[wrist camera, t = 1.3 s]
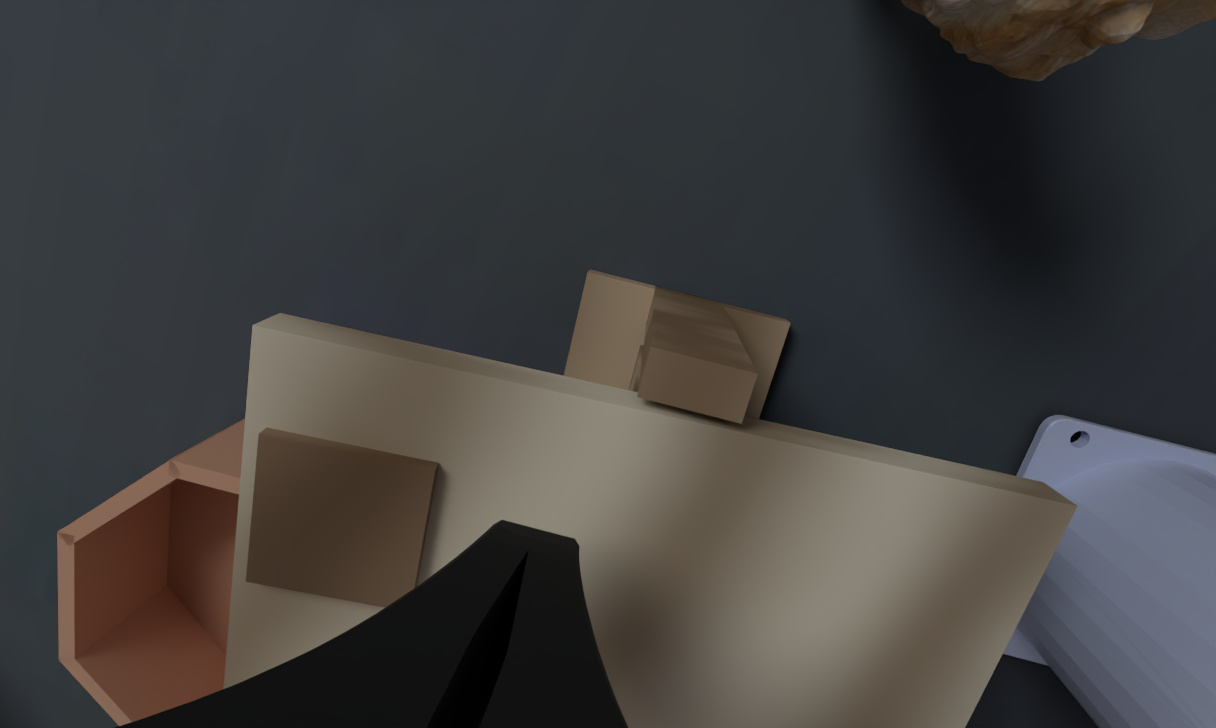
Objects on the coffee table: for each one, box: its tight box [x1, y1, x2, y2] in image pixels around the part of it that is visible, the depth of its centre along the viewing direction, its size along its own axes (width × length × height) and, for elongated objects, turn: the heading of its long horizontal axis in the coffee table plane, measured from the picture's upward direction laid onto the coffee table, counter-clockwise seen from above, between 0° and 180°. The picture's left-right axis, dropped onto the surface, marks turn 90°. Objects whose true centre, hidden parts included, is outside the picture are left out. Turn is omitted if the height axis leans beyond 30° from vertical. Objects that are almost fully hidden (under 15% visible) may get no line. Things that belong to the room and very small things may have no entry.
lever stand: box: [564, 270, 791, 424], centre depth 17 cm, size 6×17×8 cm, turn 166°
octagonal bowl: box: [57, 419, 245, 726], centre depth 20 cm, size 11×11×4 cm
